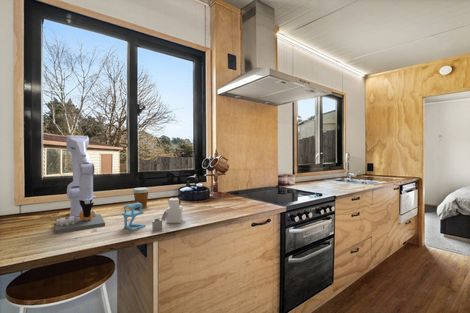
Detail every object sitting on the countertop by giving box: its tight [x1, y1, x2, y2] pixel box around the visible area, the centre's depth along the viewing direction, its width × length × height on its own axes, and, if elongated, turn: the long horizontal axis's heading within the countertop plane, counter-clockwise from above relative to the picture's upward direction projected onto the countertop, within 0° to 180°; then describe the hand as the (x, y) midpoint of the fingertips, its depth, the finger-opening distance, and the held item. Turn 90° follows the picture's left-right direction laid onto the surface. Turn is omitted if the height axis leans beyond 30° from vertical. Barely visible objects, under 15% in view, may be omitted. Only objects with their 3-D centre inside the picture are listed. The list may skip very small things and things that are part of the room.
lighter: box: [151, 210, 168, 232], centre depth 110 cm, size 7×2×8 cm, turn 125°
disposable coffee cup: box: [132, 186, 150, 210], centre depth 149 cm, size 10×10×12 cm
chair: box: [122, 202, 146, 232], centre depth 111 cm, size 8×8×12 cm
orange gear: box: [79, 209, 94, 220], centre depth 116 cm, size 6×6×4 cm
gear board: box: [55, 210, 106, 234], centre depth 115 cm, size 18×19×4 cm
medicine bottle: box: [165, 196, 183, 224], centre depth 122 cm, size 7×7×12 cm
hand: (86, 215), depth 116 cm, fingers closed on orange gear, 5 cm apart
